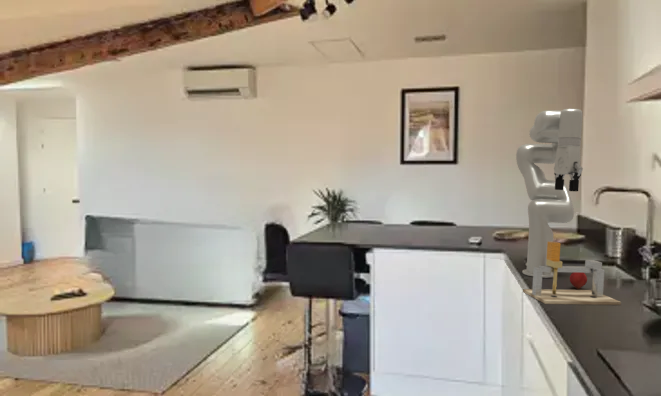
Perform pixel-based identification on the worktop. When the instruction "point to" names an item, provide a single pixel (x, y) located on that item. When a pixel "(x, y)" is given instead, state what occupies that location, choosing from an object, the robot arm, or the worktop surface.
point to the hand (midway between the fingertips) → (566, 190)
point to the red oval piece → (578, 279)
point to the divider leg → (554, 261)
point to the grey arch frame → (590, 267)
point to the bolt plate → (572, 297)
